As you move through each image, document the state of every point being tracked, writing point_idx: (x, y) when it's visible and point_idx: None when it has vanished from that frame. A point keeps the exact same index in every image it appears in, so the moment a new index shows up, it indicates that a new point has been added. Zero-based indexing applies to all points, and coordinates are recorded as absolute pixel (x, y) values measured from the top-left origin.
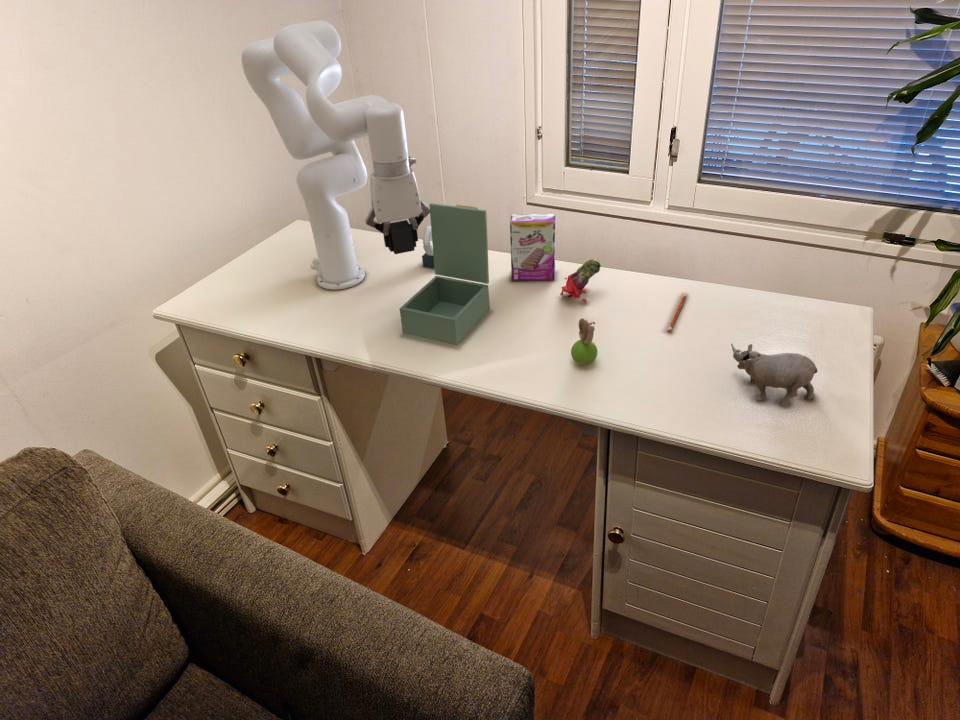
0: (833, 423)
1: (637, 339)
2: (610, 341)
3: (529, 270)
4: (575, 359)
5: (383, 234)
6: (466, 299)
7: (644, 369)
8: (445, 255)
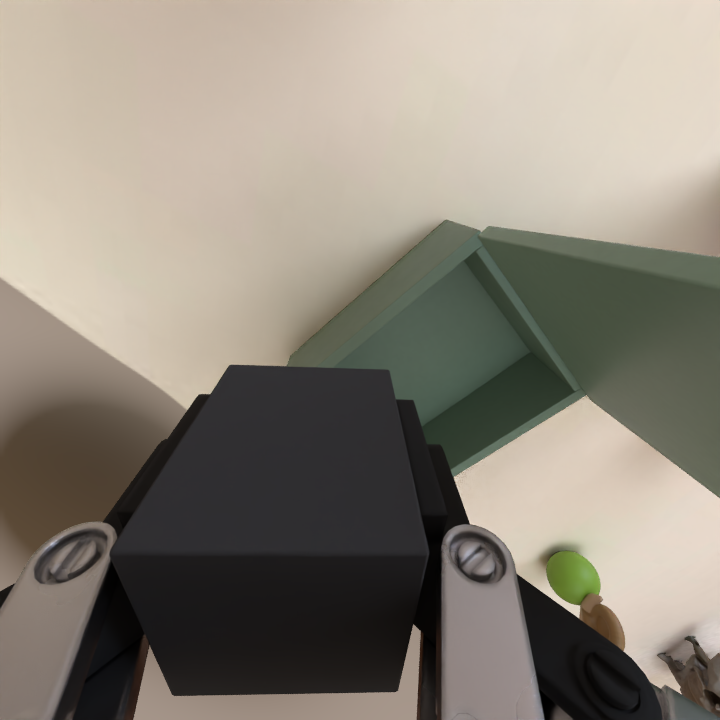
0: (675, 685)
1: (682, 538)
2: (643, 528)
3: None
4: (547, 577)
5: (109, 521)
6: (510, 319)
7: (616, 589)
8: (566, 308)
